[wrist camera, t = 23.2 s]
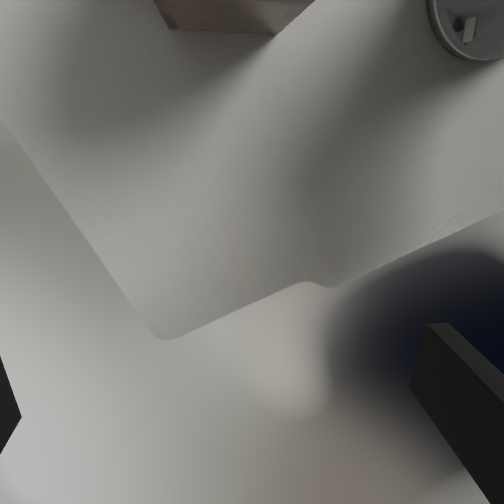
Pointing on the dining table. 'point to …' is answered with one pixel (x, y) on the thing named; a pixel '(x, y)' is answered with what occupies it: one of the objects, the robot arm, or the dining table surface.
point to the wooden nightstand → (231, 15)
